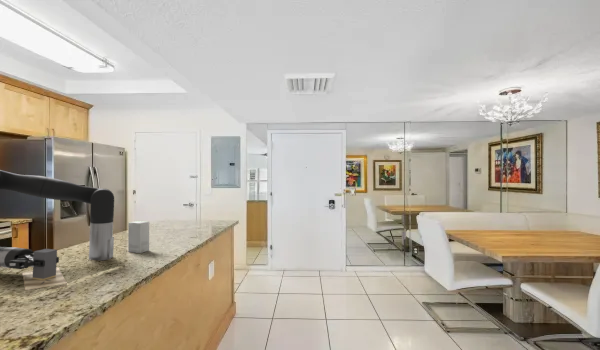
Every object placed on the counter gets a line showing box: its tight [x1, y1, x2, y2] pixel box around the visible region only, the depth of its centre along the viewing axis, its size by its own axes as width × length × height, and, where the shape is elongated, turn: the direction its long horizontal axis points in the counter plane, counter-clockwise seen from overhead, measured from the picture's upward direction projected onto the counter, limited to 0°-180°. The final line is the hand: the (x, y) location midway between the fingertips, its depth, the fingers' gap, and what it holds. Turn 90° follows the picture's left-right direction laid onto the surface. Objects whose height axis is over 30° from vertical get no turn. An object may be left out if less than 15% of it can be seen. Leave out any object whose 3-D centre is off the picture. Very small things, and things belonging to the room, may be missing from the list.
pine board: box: [22, 267, 68, 291], centre depth 113 cm, size 24×11×1 cm, turn 44°
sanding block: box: [32, 248, 58, 280], centre depth 112 cm, size 5×4×10 cm
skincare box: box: [127, 220, 150, 254], centre depth 160 cm, size 8×7×16 cm
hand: (51, 262), depth 112 cm, fingers closed on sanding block, 4 cm apart
